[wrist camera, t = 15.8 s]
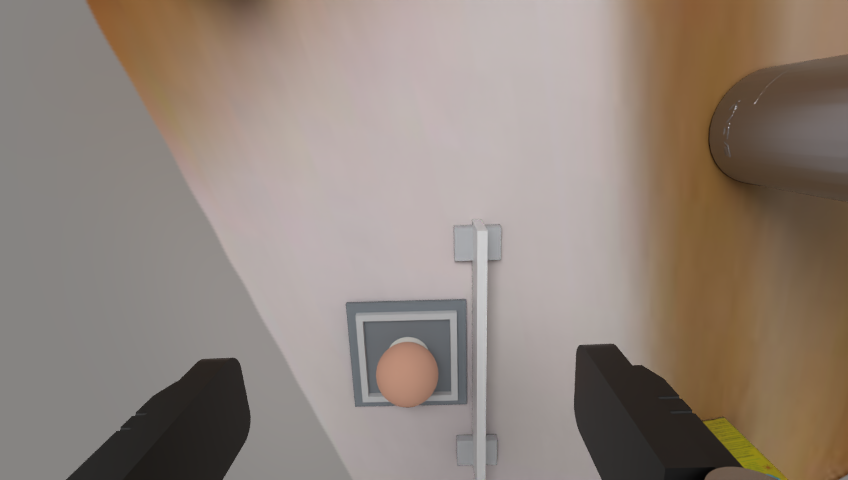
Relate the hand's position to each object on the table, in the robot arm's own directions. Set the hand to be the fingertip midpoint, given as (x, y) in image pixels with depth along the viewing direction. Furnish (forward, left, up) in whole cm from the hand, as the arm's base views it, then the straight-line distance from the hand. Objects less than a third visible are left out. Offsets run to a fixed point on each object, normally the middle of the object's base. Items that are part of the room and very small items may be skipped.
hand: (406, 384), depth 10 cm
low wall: (-5, +15, -27) cm, 31 cm away
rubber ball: (+2, +15, -23) cm, 28 cm away
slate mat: (+2, +15, -27) cm, 31 cm away
